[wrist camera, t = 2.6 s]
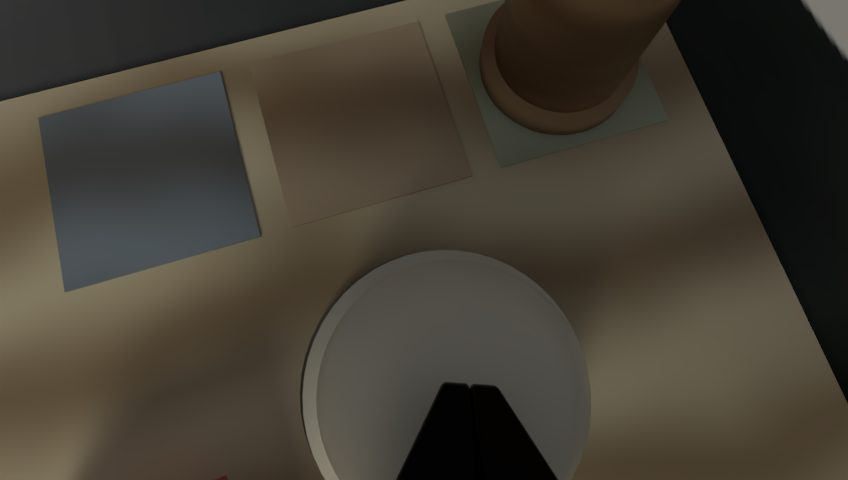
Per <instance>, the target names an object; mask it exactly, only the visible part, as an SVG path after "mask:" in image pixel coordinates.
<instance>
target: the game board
mask: <svg viewBox="0 0 848 480" xmlns="http://www.w3.org/2000/svg"><path fill="white" fill-rule="evenodd" d="M504 2H505V0H406V1H402V2H398V3H394V4H389V5H385V6H381V7H377V8H373V9H369V10H365V11H361V12H357V13H353V14H349V15H345V16H341V17H337V18H333V19H329V20H325V21H321V22H317V23H313V24H309V25H305V26H301V27H297V28H293V29H289V30H285V31H281V32H277V33H273V34H269V35H265V36H261V37H257V38H253V39H249V40H245V41H241V42H237V43H233V44H229V45H225V46H221V47H217V48H213V49H209V50H205V51H201V52H197V53H193V54H189V55H185V56H181V57H177V58H173V59H169V60H165V61H161V62H157V63H153V64H149V65H145V66H141V67H137V68H133V69H129V70H125V71H121V72H117V73H113V74H109V75H105V76H101V77H97V78H93V79H89V80H85V81H81V82H77V83H73V84H69V85H65V86H61V87H57V88H53V89H49V90H45V91H41V92H37V93H33V94H29V95H25V96H21V97H17V98H13V99H9V100H5V101H1V102H0V480H213V479H216V478H219V477H222V476H225V475H226V477H227V480H325V479H324V477H323V475H322V474H321V472H320V470H319V467H318V465H317V463H316V461H315V459H314V457H313V454H312V451H311V448H310V444H309V441H308V438H307V434H306V428H305V423H304V417H303V398H302V395H303V382H304V374H305V369H306V364H307V360H308V356H309V353H310V350H311V347H312V344H313V341H314V339H315V337H316V335H317V333H318V331H319V329H320V326H321V324H322V322H323V321H324V319H325V318H326V316H327V315H328V313H329V312H330V310H331V309H332V307H333V306H334V305H335V304H336V302H337V301H338V300H339V299H340V298H341V297H342V295H343V294H344V293H345V292H346V291H347V290H348V289H349V288H351V287H352V286H353V285H354V284H355V283H356V282H357V281H358V280H360V279H361V278H363V277H364V276H365V275H367V274H368V273H370V272H371V271H373V270H374V269H376V268H378V267H380V266H382V265H384V264H386V263H388V262H390V261H392V260H395V259H398V258H401V257H403V256H406V255H410V254H415V253H419V252H424V251H434V250H459V251H465V252H471V253H477V254H480V255H484V256H487V257H491V258H494V259H496V260H498V261H501V262H503V263H505V264H507V265H510V266H511V267H513V268H515V269H516V270H518V271H520V272H521V273H523V274H525V275H526V276H527V277H529V278H530V279H531V280H533V281H534V282H535V283H536V284H538V285H539V286H540V287H541V288H542V289H543V290H544V291H545V292H546V293H547V294H548V295H549V296H550V297H551V298H552V299H553V300H554V302H555V303H556V304H557V305H558V307H559V308H560V309H561V311H562V312H563V313H564V315H565V316H566V318H567V320H568V321H569V323H570V325H571V326H572V328H573V330H574V332H575V334H576V336H577V339H578V341H579V343H580V345H581V348H582V351H583V355H584V358H585V361H586V364H587V369H588V375H589V381H590V388H591V419H590V428H589V433H588V438H587V442H586V446H585V449H584V452H583V455H582V457H581V460H580V463H579V465H578V467H577V469H576V471H575V473H574V475H573V477H572V479H571V480H848V403H847V401H846V399H845V397H844V395H843V393H842V391H841V389H840V387H839V384H838V382H837V380H836V378H835V376H834V374H833V372H832V370H831V368H830V366H829V363H828V361H827V359H826V357H825V355H824V353H823V351H822V349H821V347H820V345H819V342H818V340H817V338H816V336H815V334H814V332H813V330H812V328H811V326H810V324H809V322H808V319H807V317H806V315H805V313H804V311H803V309H802V307H801V305H800V303H799V301H798V298H797V296H796V294H795V292H794V290H793V288H792V286H791V284H790V282H789V280H788V277H787V275H786V273H785V271H784V269H783V267H782V265H781V263H780V261H779V259H778V256H777V254H776V252H775V250H774V248H773V246H772V244H771V242H770V240H769V238H768V236H767V233H766V231H765V229H764V227H763V225H762V223H761V221H760V219H759V217H758V215H757V212H756V210H755V208H754V206H753V204H752V202H751V200H750V198H749V196H748V194H747V191H746V189H745V187H744V185H743V183H742V181H741V179H740V177H739V175H738V173H737V171H736V168H735V166H734V164H733V162H732V160H731V158H730V156H729V154H728V152H727V150H726V147H725V145H724V143H723V141H722V139H721V137H720V135H719V133H718V131H717V129H716V126H715V124H714V122H713V120H712V118H711V116H710V114H709V112H708V110H707V108H706V105H705V103H704V101H703V99H702V97H701V95H700V93H699V91H698V89H697V87H696V85H695V82H694V80H693V78H692V76H691V74H690V72H689V70H688V68H687V66H686V64H685V61H684V59H683V57H682V55H681V53H680V51H679V49H678V47H677V45H676V43H675V40H674V38H673V36H672V34H671V32H670V30H669V28H668V26H667V24H666V22H665V24H664V25H663V26H662V28H661V29H660V31H659V32H658V33H657V35H656V36H655V37H654V39H653V40H652V42H651V43H650V44H649V46H648V47H647V48H646V50H645V51H644V53H643V54H642V55H641V57H640V58H639V69H638V74H637V78H636V81H635V83H634V86H633V88H632V89H631V91H630V93H629V94H628V96H627V97H626V98H625V100H624V101H623V102H622V103H621V105H620V106H619V107H618V108H617V110H616V111H615V112H614V113H613V114H612V115H611V116H610V117H609V118H608V119H607V120H605V121H604V122H603V123H601V124H600V125H598V126H596V127H594V128H592V129H590V130H587V131H584V132H581V133H576V134H570V135H550V134H544V133H539V132H536V131H532V130H530V129H527V128H525V127H522V126H521V125H519V124H517V123H515V122H514V121H512V120H511V119H509V118H508V117H507V116H505V115H504V114H503V113H502V112H501V111H500V110H499V109H498V108H497V107H496V105H495V104H494V103H493V102H492V100H491V99H490V97H489V95H488V94H487V92H486V90H485V88H484V85H483V82H482V79H481V75H480V68H479V58H480V51H481V46H482V42H483V37H484V33H485V30H486V27H487V25H488V23H489V21H490V19H491V17H492V16H493V14H494V13H495V11H496V10H497V9H498V8H499V7H500V6H501V5H502V4H503V3H504Z"/></svg>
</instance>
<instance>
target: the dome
mask: <svg viewBox="0 0 848 480" xmlns="http://www.w3.org/2000/svg"><path fill="white" fill-rule="evenodd" d="M444 382H456V383H466V384H468V386H469V387H470V386H471V385H472V384H486V385H495V386H497V387H498V388H499V389H500V391H501V392H502V394H503V396H504V397H505V399H506V400H507V402H508V403H509V405H510V406H511V408H512V409H513V411H514V412H515V414H516V416H517V417H518V419H519V420H520V422H521V423H522V425H523V426H524V428H525V429H526V431H527V432H528V434H529V436H530V437H531V439H532V440H533V442H534V443H535V445H536V446H537V448H538V449H539V451H540V452H541V454H542V455H543V457H544V459H545V460H546V462H547V463H548V465H549V466H550V468H551V469H552V471H553V472H554V474H555V475H556V477H557V479H558V480H571V479H572V477H573V475H574V473H575V471H576V469H577V467H578V465H579V463H580V460H581V457H582V455H583V452H584V449H585V446H586V442H587V438H588V433H589V428H590V419H591V388H590V381H589V375H588V369H587V364H586V361H585V358H584V355H583V351H582V348H581V345H580V343H579V341H578V339H577V336H576V334H575V332H574V330H573V328H572V326H571V325H570V323H569V321H568V320H567V318H566V316H565V315H564V313H563V312H562V311H561V309H560V308H559V307H558V305H557V304H556V303H555V302H554V300H553V299H552V298H551V297H550V296H549V295H548V294H547V293H546V292H545V291H544V290H543V289H542V288H541V287H540V286H539V285H538V284H536V283H535V282H534V281H533V280H531V279H530V278H529V277H527V276H526V275H525V274H523V273H521V272H520V271H518V270H516V269H515V268H513V267H511V266H510V265H507V264H505V263H503V262H501V261H498V260H496V259H494V258H491V257H487V256H484V255H480V254H477V253H471V252H465V251H459V250H434V251H424V252H419V253H415V254H410V255H406V256H403V257H401V258H398V259H395V260H392V261H390V262H388V263H386V264H384V265H382V266H380V267H378V268H376V269H374V270H373V271H371V272H370V273H368V274H367V275H365V276H364V277H363V278H361V279H360V280H358V281H357V282H356V283H355V284H354V285H353V286H352V287H351V288H349V289H348V290H347V291H346V292H345V293H344V294H343V295H342V297H341V298H340V299H339V300H338V301H337V302H336V304H335V305H334V306H333V307H332V309H331V310H330V312H329V313H328V315H327V316H326V318H325V319H324V321H323V322H322V324H321V326H320V329H319V331H318V333H317V335H316V337H315V339H314V341H313V344H312V347H311V350H310V353H309V356H308V360H307V364H306V369H305V374H304V382H303V395H302V398H303V417H304V423H305V428H306V434H307V438H308V441H309V444H310V448H311V451H312V454H313V457H314V459H315V461H316V463H317V465H318V467H319V470H320V472H321V474H322V475H323V477H324V479H325V480H396V478H397V476H398V474H399V472H400V470H401V468H402V466H403V464H404V462H405V459H406V457H407V455H408V453H409V451H410V449H411V447H412V445H413V443H414V441H415V438H416V436H417V434H418V432H419V430H420V428H421V426H422V424H423V422H424V420H425V418H426V415H427V413H428V411H429V409H430V407H431V405H432V403H433V401H434V399H435V397H436V394H437V392H438V390H439V388H440V386H441V385H442V384H443V383H444Z"/></svg>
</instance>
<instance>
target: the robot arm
mask: <svg viewBox="0 0 848 480" xmlns="http://www.w3.org/2000/svg"><path fill="white" fill-rule="evenodd" d="M396 480H558V479H557V477H556V475H555V474H554V472H553V471H552V469H551V468H550V466H549V465H548V463H547V462H546V460H545V459H544V457H543V455H542V454H541V452H540V451H539V449H538V448H537V446H536V445H535V443H534V442H533V440H532V439H531V437H530V436H529V434H528V432H527V431H526V429H525V428H524V426H523V425H522V423H521V422H520V420H519V419H518V417H517V416H516V414H515V412H514V411H513V409H512V408H511V406H510V405H509V403H508V402H507V400H506V399H505V397H504V396H503V394H502V392H501V391H500V389H499V388H498V387H497V386H495V385H486V384H472V385H471V386H470V387H469V386H468V384H466V383H456V382H444V383H443V384H442V385H441V386H440V388H439V390H438V392H437V394H436V397H435V399H434V401H433V403H432V405H431V407H430V409H429V411H428V413H427V415H426V418H425V420H424V422H423V424H422V426H421V428H420V430H419V432H418V434H417V436H416V438H415V441H414V443H413V445H412V447H411V449H410V451H409V453H408V455H407V457H406V459H405V462H404V464H403V466H402V468H401V470H400V472H399V474H398V476H397V478H396Z"/></svg>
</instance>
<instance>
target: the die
mask: <svg viewBox="0 0 848 480" xmlns="http://www.w3.org/2000/svg"><path fill="white" fill-rule="evenodd" d="M213 480H227V477H226V475H225V476H222V477H219V478H216V479H213Z"/></svg>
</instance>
